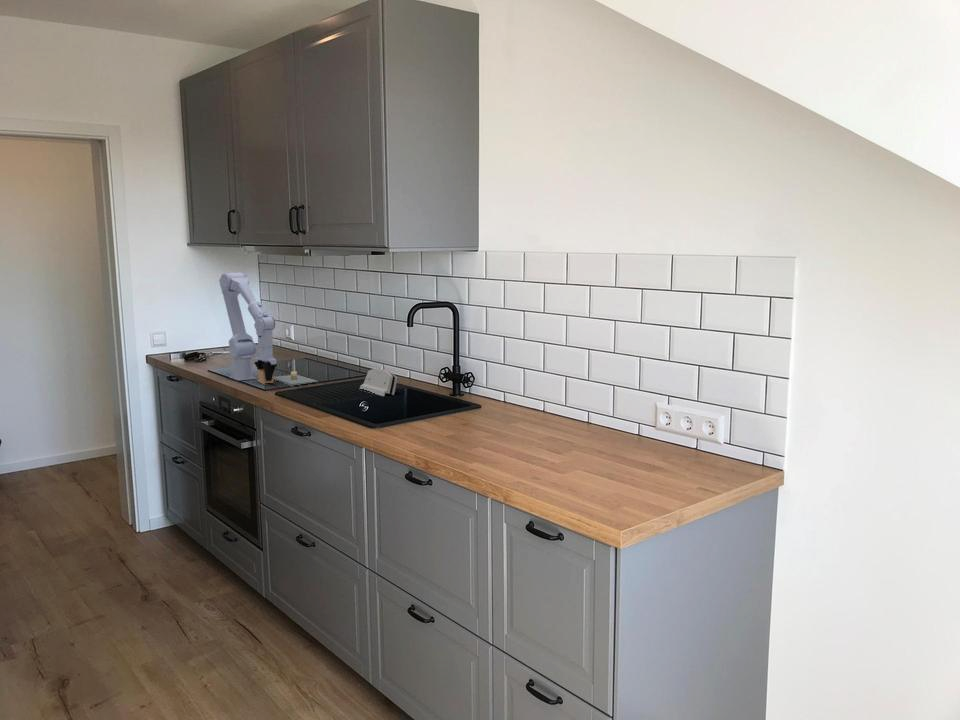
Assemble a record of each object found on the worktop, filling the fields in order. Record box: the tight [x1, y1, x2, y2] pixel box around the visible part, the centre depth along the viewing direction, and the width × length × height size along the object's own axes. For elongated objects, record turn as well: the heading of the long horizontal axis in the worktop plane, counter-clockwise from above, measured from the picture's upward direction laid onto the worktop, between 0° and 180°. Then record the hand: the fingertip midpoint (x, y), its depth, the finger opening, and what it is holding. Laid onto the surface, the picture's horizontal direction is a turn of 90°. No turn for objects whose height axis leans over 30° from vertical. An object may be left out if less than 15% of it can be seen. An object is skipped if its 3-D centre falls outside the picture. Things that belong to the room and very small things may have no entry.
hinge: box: [359, 368, 398, 397], centre depth 309 cm, size 17×5×10 cm, turn 43°
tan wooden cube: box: [257, 369, 275, 385], centre depth 321 cm, size 5×5×6 cm
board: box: [274, 370, 319, 387], centre depth 326 cm, size 18×12×4 cm, turn 42°
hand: (265, 379), depth 321 cm, fingers closed on tan wooden cube, 5 cm apart
